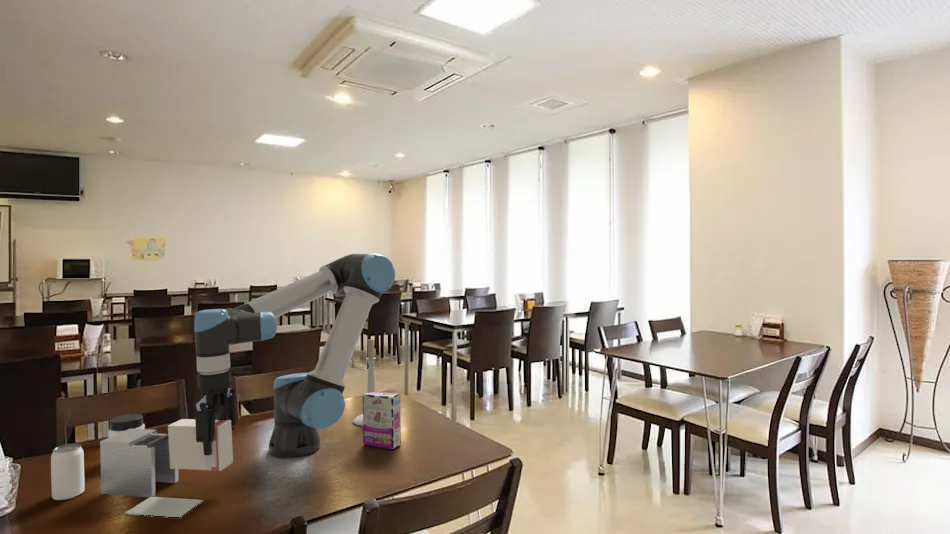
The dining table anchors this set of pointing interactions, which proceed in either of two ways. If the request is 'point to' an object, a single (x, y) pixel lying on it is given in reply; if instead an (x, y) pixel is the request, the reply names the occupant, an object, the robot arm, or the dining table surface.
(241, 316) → the robot arm
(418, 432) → the dining table surface
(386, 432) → the candy bar box
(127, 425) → the jar
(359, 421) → the candlestick
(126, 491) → the dispenser
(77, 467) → the can
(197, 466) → the pink-banded white block
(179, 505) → the pad
